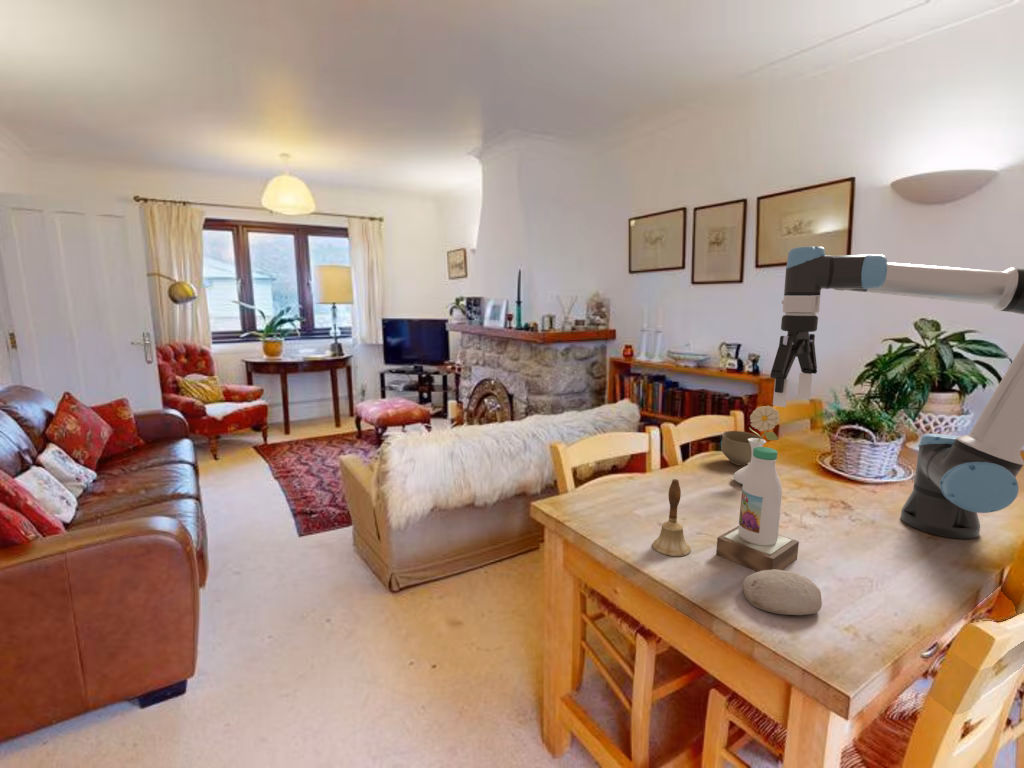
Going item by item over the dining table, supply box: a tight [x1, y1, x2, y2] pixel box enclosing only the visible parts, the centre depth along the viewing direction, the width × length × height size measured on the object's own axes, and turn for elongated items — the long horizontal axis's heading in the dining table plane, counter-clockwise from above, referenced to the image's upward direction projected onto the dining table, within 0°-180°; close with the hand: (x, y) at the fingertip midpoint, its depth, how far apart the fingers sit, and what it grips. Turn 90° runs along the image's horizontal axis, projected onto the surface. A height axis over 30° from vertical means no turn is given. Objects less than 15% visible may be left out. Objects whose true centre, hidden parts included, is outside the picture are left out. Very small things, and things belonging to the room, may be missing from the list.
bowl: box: [720, 430, 763, 466], centre depth 174 cm, size 13×13×10 cm
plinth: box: [716, 525, 800, 572], centre depth 111 cm, size 12×12×4 cm
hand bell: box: [651, 478, 692, 557], centre depth 114 cm, size 8×8×16 cm
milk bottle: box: [738, 446, 783, 546], centre depth 109 cm, size 8×8×20 cm
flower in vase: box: [732, 405, 781, 485], centre depth 153 cm, size 13×11×25 cm
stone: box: [742, 569, 823, 616], centre depth 95 cm, size 13×10×8 cm
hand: (791, 402), depth 125 cm, fingers open, 13 cm apart
